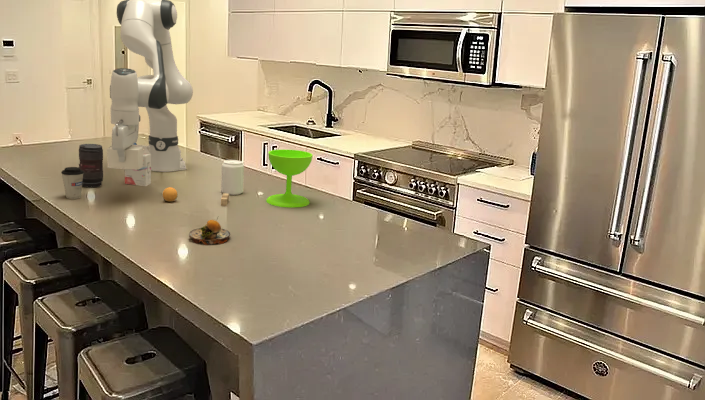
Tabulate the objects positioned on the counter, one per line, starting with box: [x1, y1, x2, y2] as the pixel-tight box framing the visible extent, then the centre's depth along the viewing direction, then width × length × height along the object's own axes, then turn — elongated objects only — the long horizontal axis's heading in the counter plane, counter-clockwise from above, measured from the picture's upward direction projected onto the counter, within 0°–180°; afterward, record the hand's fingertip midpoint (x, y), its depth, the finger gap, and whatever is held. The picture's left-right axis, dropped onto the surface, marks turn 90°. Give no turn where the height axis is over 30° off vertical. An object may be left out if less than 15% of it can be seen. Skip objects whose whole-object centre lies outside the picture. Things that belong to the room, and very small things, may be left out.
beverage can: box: [220, 159, 245, 196], centre depth 224 cm, size 8×8×12 cm
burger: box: [188, 217, 231, 246], centre depth 173 cm, size 12×12×8 cm
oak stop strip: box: [220, 192, 230, 207], centre depth 211 cm, size 8×2×2 cm, turn 6°
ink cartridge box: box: [124, 144, 152, 187], centre depth 226 cm, size 9×5×15 cm, turn 84°
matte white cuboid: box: [106, 145, 144, 170], centre depth 202 cm, size 7×10×7 cm
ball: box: [162, 186, 178, 203], centre depth 207 cm, size 5×5×5 cm
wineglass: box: [265, 148, 313, 209], centre depth 218 cm, size 16×16×18 cm
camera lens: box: [78, 143, 104, 188], centre depth 219 cm, size 8×8×15 cm
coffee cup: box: [61, 166, 84, 200], centre depth 203 cm, size 7×7×10 cm
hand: (125, 159), depth 202 cm, fingers closed on matte white cuboid, 7 cm apart
